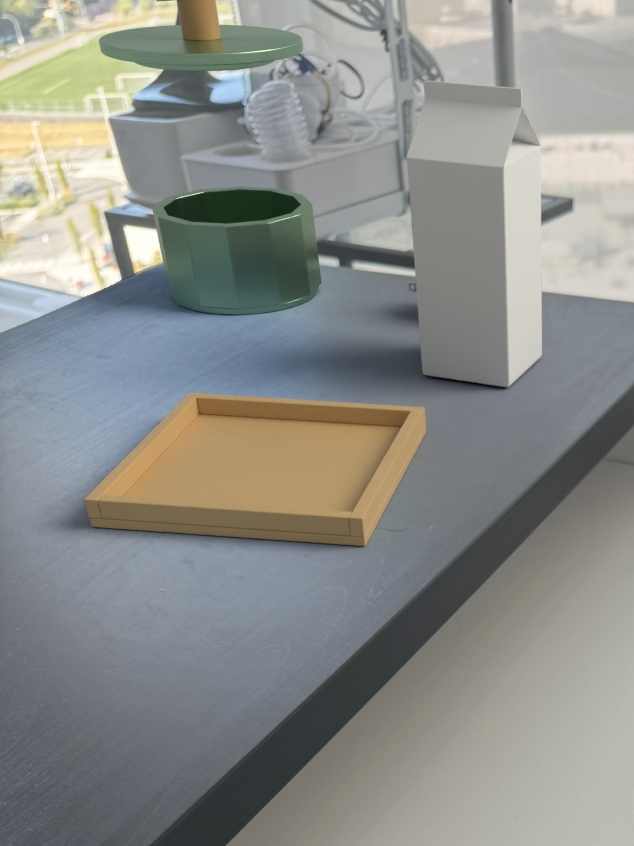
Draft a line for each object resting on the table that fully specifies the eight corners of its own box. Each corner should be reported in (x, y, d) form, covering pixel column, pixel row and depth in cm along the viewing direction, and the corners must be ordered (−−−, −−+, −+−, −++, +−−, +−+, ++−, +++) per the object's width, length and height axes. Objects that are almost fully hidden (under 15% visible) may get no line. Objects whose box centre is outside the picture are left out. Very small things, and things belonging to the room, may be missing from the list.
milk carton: (509, 390, 87) (501, 97, 75) (422, 377, 88) (400, 88, 76) (542, 358, 92) (540, 80, 80) (459, 346, 94) (445, 72, 81)
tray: (91, 527, 69) (83, 499, 68) (194, 417, 82) (189, 392, 81) (365, 546, 68) (362, 518, 67) (426, 432, 81) (424, 406, 79)
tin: (148, 310, 99) (128, 221, 94) (202, 266, 109) (187, 183, 104) (295, 318, 98) (282, 229, 94) (336, 273, 108) (327, 190, 103)
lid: (68, 70, 78) (40, -54, 74) (149, 41, 88) (129, -70, 84) (269, 80, 77) (253, -46, 73) (327, 49, 88) (316, -62, 83)
